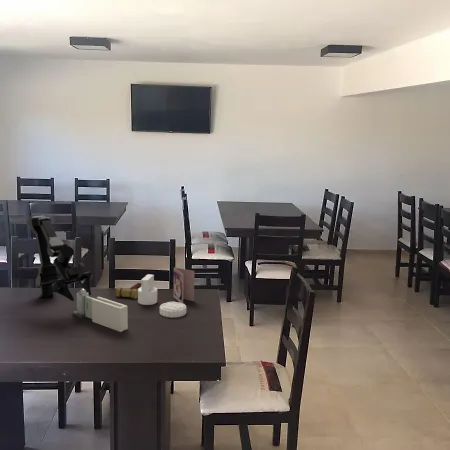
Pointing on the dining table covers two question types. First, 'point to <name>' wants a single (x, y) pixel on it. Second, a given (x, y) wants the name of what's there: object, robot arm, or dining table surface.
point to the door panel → (88, 306)
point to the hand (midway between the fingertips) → (82, 297)
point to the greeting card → (183, 284)
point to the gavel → (128, 291)
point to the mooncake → (173, 309)
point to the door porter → (80, 303)
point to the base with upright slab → (147, 291)
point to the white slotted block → (110, 314)
